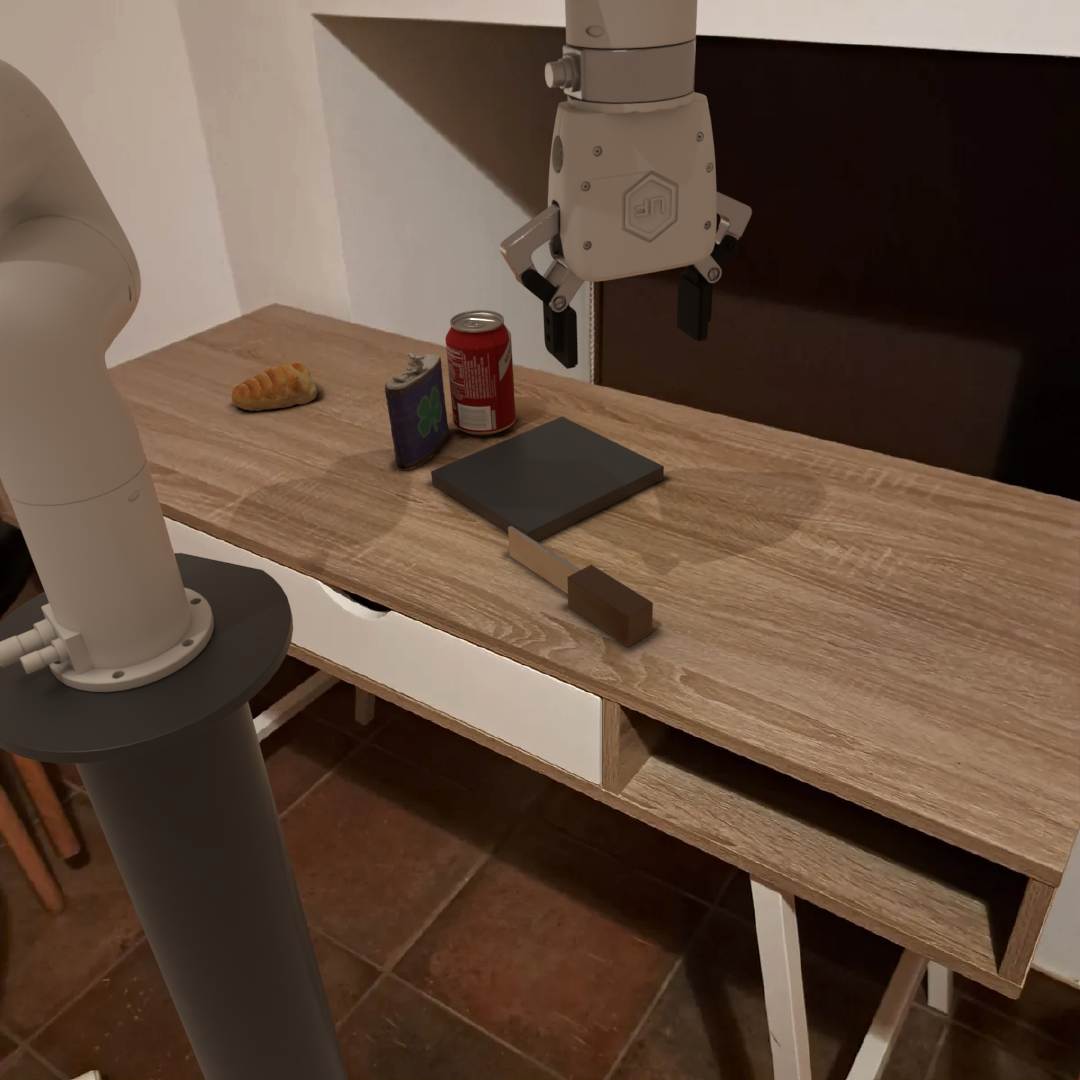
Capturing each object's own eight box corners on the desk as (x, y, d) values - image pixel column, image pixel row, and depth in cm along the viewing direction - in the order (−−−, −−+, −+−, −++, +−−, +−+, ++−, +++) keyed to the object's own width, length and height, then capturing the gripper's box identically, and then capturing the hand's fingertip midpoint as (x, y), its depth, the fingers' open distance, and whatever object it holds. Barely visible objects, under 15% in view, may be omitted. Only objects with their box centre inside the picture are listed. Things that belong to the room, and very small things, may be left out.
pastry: (242, 421, 113) (235, 389, 111) (226, 399, 118) (219, 369, 116) (322, 400, 116) (317, 369, 114) (304, 380, 121) (298, 350, 119)
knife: (652, 633, 79) (653, 602, 77) (628, 647, 77) (628, 616, 76) (522, 549, 89) (521, 520, 88) (499, 560, 88) (497, 532, 86)
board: (528, 546, 90) (528, 532, 89) (432, 484, 99) (430, 471, 98) (663, 479, 98) (664, 466, 98) (562, 428, 108) (562, 416, 107)
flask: (432, 428, 109) (422, 334, 103) (457, 432, 108) (448, 338, 102) (390, 468, 102) (376, 370, 96) (415, 473, 101) (403, 374, 95)
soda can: (495, 444, 106) (487, 336, 99) (441, 432, 109) (430, 326, 102) (527, 418, 111) (522, 313, 104) (475, 406, 113) (467, 304, 107)
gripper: (515, 102, 54) (531, 394, 63) (792, 68, 59) (768, 343, 68) (471, 81, 60) (491, 351, 69) (725, 52, 65) (712, 308, 74)
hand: (629, 347), depth 69 cm, fingers open, 9 cm apart
